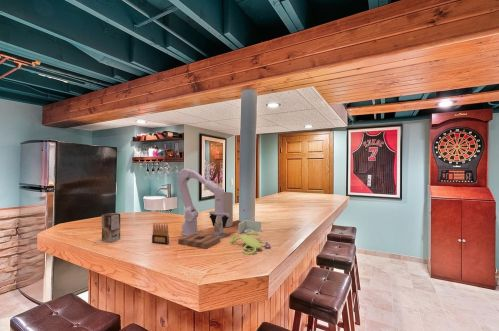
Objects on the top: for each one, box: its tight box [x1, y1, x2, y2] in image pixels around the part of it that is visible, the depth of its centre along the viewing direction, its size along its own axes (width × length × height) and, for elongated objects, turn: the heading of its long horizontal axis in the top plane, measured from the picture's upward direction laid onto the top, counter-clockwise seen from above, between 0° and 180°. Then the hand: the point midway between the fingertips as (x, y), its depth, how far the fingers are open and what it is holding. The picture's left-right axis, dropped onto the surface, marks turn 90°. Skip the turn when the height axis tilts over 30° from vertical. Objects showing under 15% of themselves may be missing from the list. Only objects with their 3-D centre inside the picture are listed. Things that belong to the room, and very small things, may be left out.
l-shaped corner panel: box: [237, 219, 262, 235], centre depth 167 cm, size 12×12×8 cm
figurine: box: [229, 231, 271, 255], centre depth 140 cm, size 18×27×6 cm
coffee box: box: [101, 212, 121, 243], centre depth 150 cm, size 9×6×16 cm
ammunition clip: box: [151, 222, 170, 246], centre depth 143 cm, size 11×2×12 cm, turn 74°
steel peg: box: [213, 222, 224, 236], centre depth 159 cm, size 4×4×8 cm
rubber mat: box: [210, 232, 230, 240], centre depth 160 cm, size 10×10×1 cm
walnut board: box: [177, 232, 221, 250], centre depth 144 cm, size 20×14×3 cm
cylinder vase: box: [216, 191, 234, 228], centre depth 186 cm, size 12×12×25 cm
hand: (219, 226), depth 160 cm, fingers open, 7 cm apart
